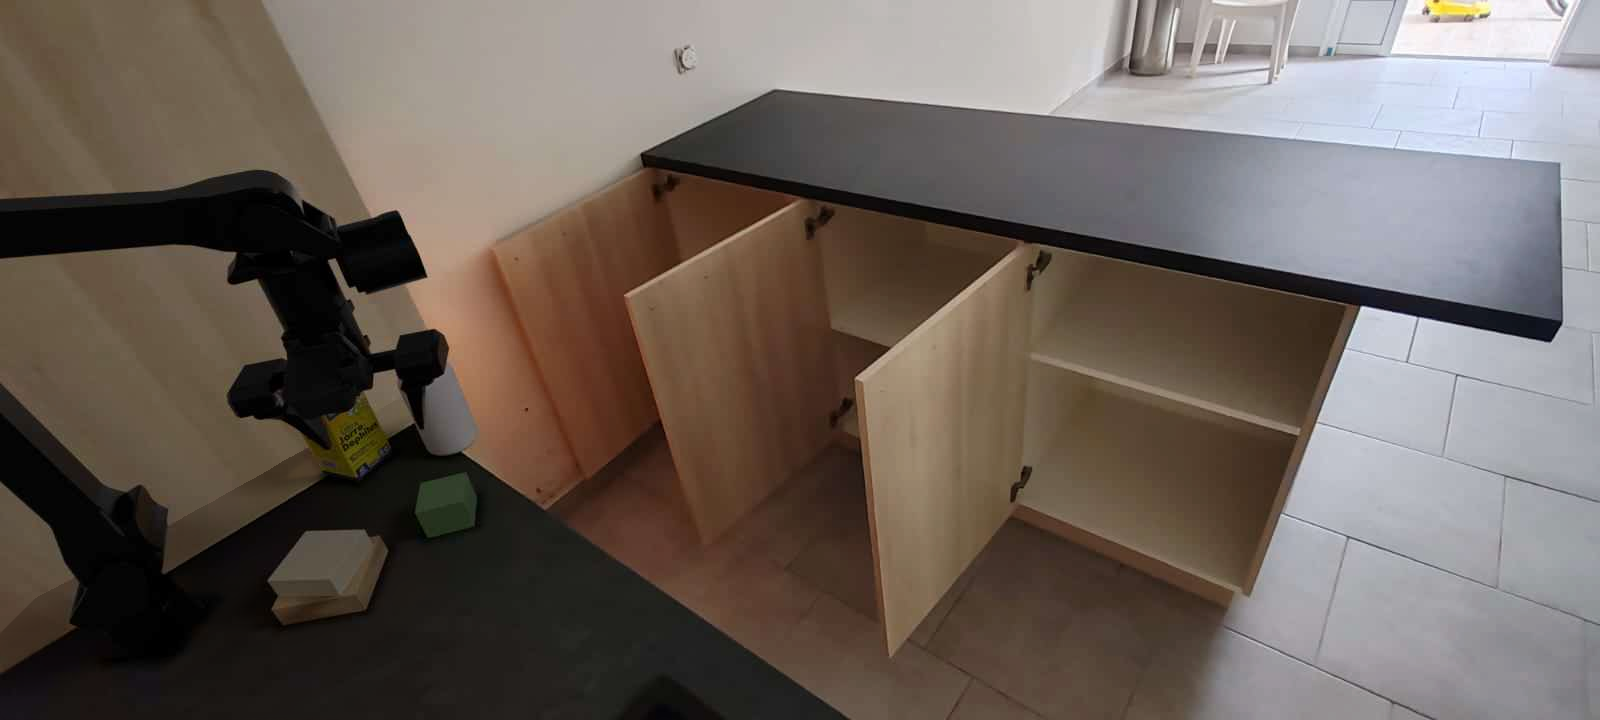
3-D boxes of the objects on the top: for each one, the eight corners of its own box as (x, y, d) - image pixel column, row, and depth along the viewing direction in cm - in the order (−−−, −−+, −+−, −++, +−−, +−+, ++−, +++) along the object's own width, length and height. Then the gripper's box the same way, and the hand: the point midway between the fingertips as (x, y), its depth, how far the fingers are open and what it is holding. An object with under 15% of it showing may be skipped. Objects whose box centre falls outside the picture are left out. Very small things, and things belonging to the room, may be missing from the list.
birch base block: (282, 625, 74) (270, 609, 73) (312, 564, 81) (302, 548, 79) (365, 610, 75) (355, 594, 74) (388, 550, 82) (379, 535, 80)
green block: (427, 538, 83) (414, 513, 80) (432, 508, 87) (420, 483, 84) (474, 526, 84) (462, 501, 81) (477, 497, 88) (466, 471, 85)
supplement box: (359, 483, 91) (321, 413, 85) (323, 475, 93) (283, 406, 87) (395, 452, 96) (361, 383, 90) (360, 444, 98) (324, 377, 92)
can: (461, 459, 94) (427, 382, 87) (416, 455, 95) (380, 379, 88) (489, 427, 99) (459, 352, 92) (446, 424, 100) (413, 350, 93)
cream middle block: (278, 597, 74) (266, 580, 73) (316, 547, 79) (305, 530, 78) (340, 596, 74) (329, 579, 72) (374, 545, 79) (364, 529, 78)
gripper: (164, 376, 61) (254, 512, 70) (406, 329, 65) (463, 464, 73) (212, 312, 70) (287, 440, 79) (422, 275, 74) (471, 401, 82)
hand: (376, 437), depth 78 cm, fingers open, 9 cm apart
